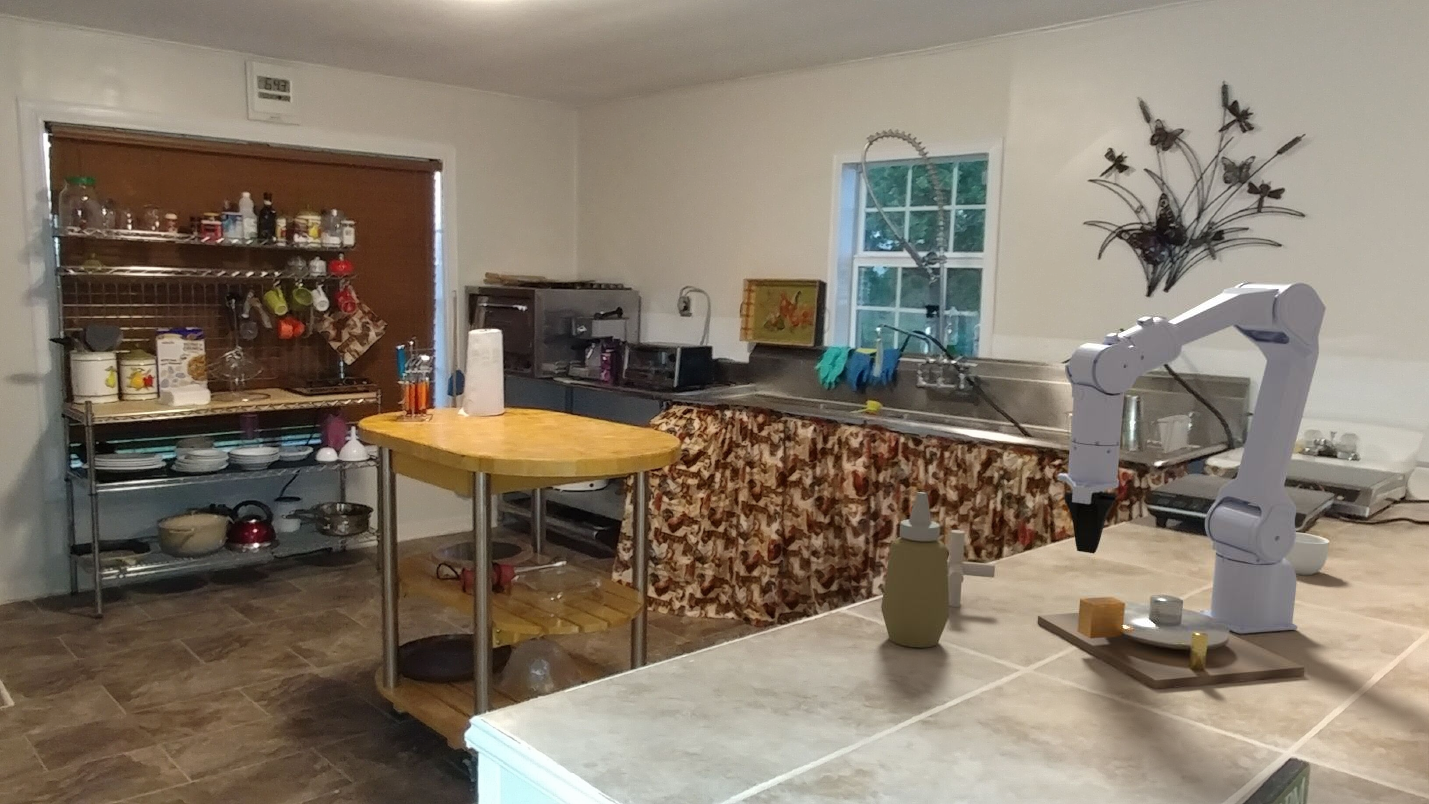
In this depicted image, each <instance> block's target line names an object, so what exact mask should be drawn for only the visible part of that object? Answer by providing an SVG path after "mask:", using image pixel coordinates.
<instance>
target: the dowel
mask: <svg viewBox="0 0 1429 804" xmlns="http://www.w3.org/2000/svg"><path fill="white" fill-rule="evenodd" d="M1207 641H1208V634H1206V633H1203V632H1192V640H1191V651H1190V662H1189V668H1190V669H1191V670H1194V671H1199V672H1202V671H1205V663H1206V652H1207Z"/></svg>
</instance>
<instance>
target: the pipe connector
mask: <svg viewBox="0 0 1429 804" xmlns="http://www.w3.org/2000/svg"><path fill="white" fill-rule="evenodd" d="M965 533H966V532H965V530H962V529H952V530H950V540H949V554H948V555H947V566H948V590H949V607H953V608H957V607H961V600H962V599H961V597H962V584H963V582H964V576H969V577H970V576H971V577H984V578H995V571H996V570H995V569H996V567H995V563H985V562H972V561H964V552H965V551H964V549H965V537H966V536H965V535H966V534H965Z"/></svg>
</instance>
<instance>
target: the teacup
mask: <svg viewBox="0 0 1429 804" xmlns="http://www.w3.org/2000/svg"><path fill="white" fill-rule="evenodd" d="M1329 548H1330V540H1329V539H1328V538H1325V537H1323V536H1319V535H1315V534H1310V533H1306V532H1305V533H1304V532H1297V531H1296V538H1295V543H1294V545H1293V548H1292V549H1291V551H1290V552H1289V554H1288V555H1287V556H1286V557H1284V558H1285V559H1286V560H1288V561H1289V562H1290V563H1291V565H1292V566H1293V568H1294V571H1295V574H1296V575H1303V576H1309V575H1310V576H1311V575H1314V574H1317V573H1318V572H1319V571H1321V570H1322V569H1323V567H1324V566H1325V564H1326V561H1327V558H1328V553H1329Z"/></svg>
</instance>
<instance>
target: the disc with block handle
mask: <svg viewBox="0 0 1429 804" xmlns="http://www.w3.org/2000/svg"><path fill="white" fill-rule="evenodd" d="M1183 604H1184V601H1183V599H1181V598H1179V597H1176V596H1172V595H1168V594H1153V595H1151V596H1150V599H1149V603H1147V602H1145V603H1143V602H1129V603H1128V602H1124V601H1122V600H1119V599H1118V598H1115V597H1113V596H1103V597H1086V598H1080V599H1079V606H1078V607H1079V609H1078V613H1079V619H1078V632H1079V633H1081V634H1083V635H1085V636H1086V637H1088V638H1104V637H1117V636H1123V637H1125V638H1128V639H1131V640H1134V641H1138V642H1141V643H1145V644H1150V645H1155V646H1160V647H1166V648H1174V649H1186V650H1191V640H1192V632H1203V633H1206V634H1208V641H1207V649H1214V648H1219V647H1222V646H1224V645H1226V644H1227V643H1228V641H1229V634H1231V633H1230V631H1231V630H1229V628H1228V627H1227V626H1226V625H1225V624H1223V623H1222V622H1220V621H1219V620H1217V619H1215V618H1212V617H1210V616H1207V615H1204V614H1201V613H1198V612H1195V611H1196V610H1195V611H1194V610H1192V609H1191V610H1190V609H1186V608H1184V607H1183V606H1184V605H1183Z"/></svg>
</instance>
